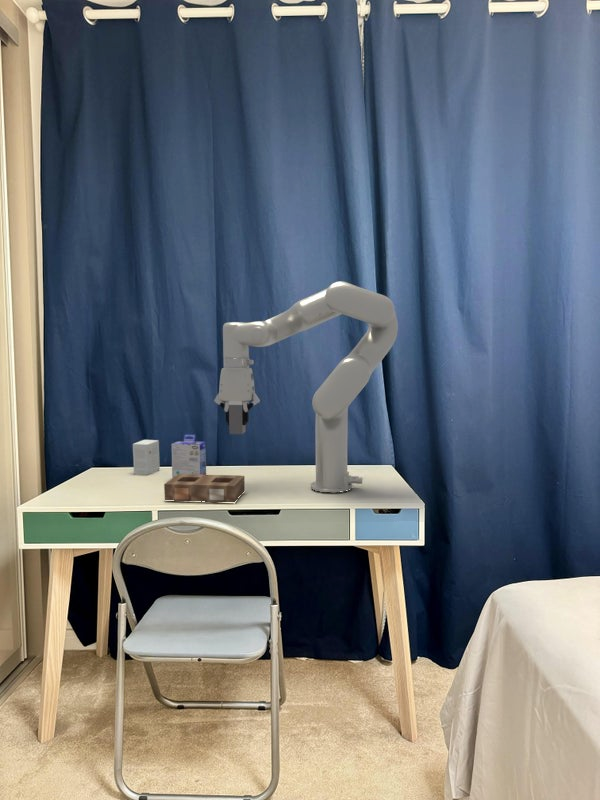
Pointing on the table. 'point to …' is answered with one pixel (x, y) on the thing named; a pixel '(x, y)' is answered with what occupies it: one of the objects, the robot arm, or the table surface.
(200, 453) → the ink cartridge box
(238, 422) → the plug
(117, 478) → the table surface
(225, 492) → the socket block
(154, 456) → the small box
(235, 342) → the robot arm
